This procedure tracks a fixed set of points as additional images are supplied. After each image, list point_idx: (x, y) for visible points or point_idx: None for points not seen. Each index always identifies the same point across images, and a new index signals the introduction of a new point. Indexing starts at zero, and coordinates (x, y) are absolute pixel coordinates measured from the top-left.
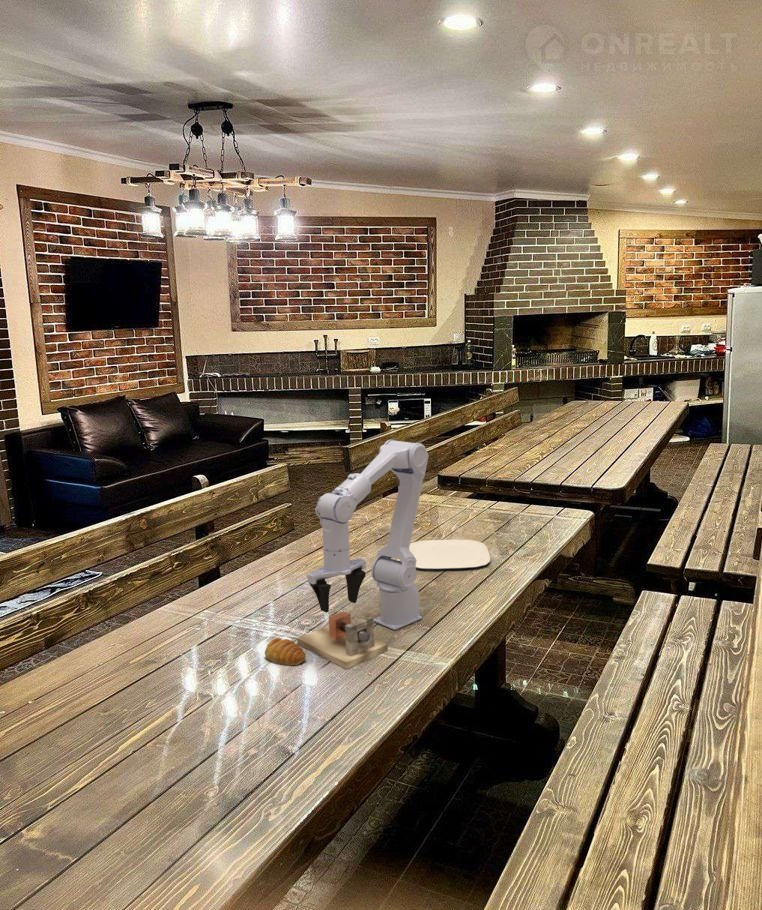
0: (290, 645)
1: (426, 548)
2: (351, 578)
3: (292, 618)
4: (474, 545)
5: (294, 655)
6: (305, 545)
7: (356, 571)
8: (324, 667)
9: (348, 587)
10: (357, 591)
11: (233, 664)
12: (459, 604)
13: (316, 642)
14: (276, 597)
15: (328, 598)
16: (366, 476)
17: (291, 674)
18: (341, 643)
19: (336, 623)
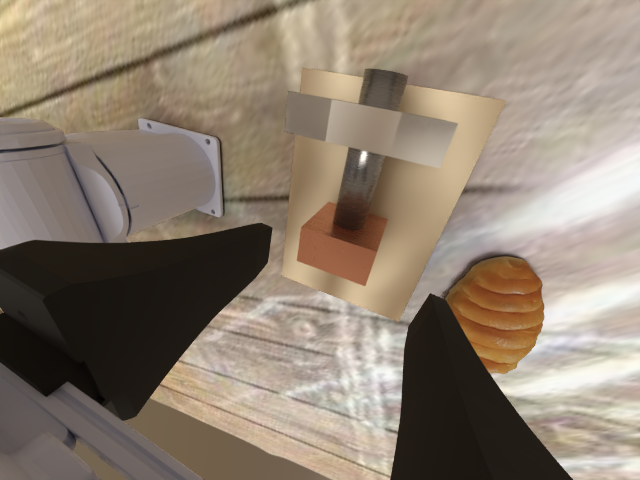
0: (492, 321)
1: None
2: (154, 331)
3: (308, 354)
4: None
5: (527, 288)
6: (156, 394)
7: (44, 347)
8: (509, 182)
9: (219, 303)
10: (214, 238)
11: (572, 398)
12: (56, 88)
13: (399, 271)
14: (268, 392)
15: (453, 362)
16: None
17: (602, 250)
18: (371, 207)
19: (375, 243)
